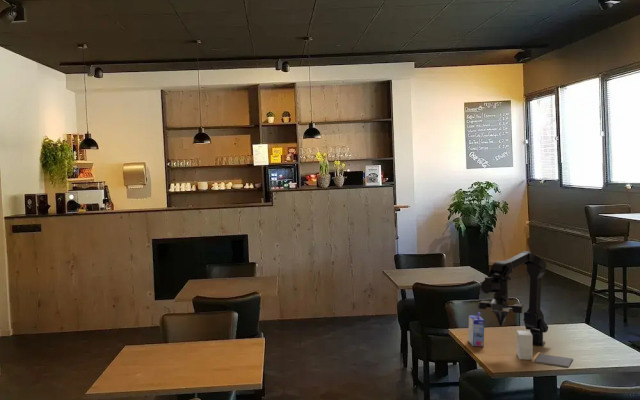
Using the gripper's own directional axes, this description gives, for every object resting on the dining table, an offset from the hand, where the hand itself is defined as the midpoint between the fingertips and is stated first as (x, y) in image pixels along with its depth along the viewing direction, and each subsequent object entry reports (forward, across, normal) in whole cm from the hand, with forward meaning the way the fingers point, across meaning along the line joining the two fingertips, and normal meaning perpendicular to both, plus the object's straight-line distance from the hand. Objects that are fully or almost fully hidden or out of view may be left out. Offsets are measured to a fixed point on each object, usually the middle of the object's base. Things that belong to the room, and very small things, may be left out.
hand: (501, 326), depth 260 cm
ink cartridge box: (+12, -14, +10) cm, 21 cm away
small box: (+12, +10, 0) cm, 16 cm away
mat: (+12, +22, 0) cm, 25 cm away
